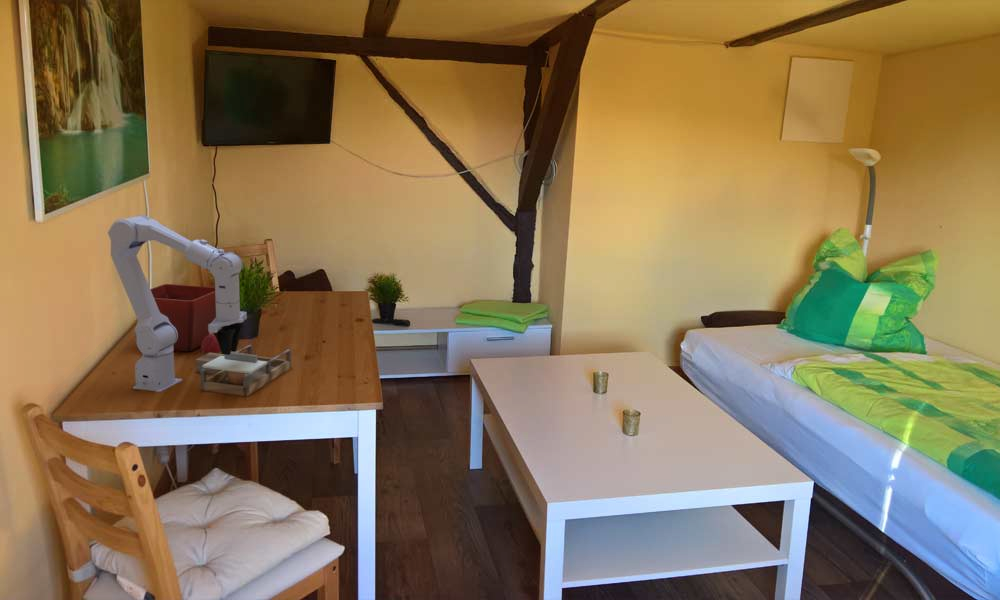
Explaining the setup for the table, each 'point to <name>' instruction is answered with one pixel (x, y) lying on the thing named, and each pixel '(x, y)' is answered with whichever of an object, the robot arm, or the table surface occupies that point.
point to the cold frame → (247, 376)
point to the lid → (236, 363)
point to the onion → (210, 344)
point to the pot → (235, 378)
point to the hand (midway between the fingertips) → (229, 352)
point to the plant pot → (187, 312)
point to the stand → (206, 359)
